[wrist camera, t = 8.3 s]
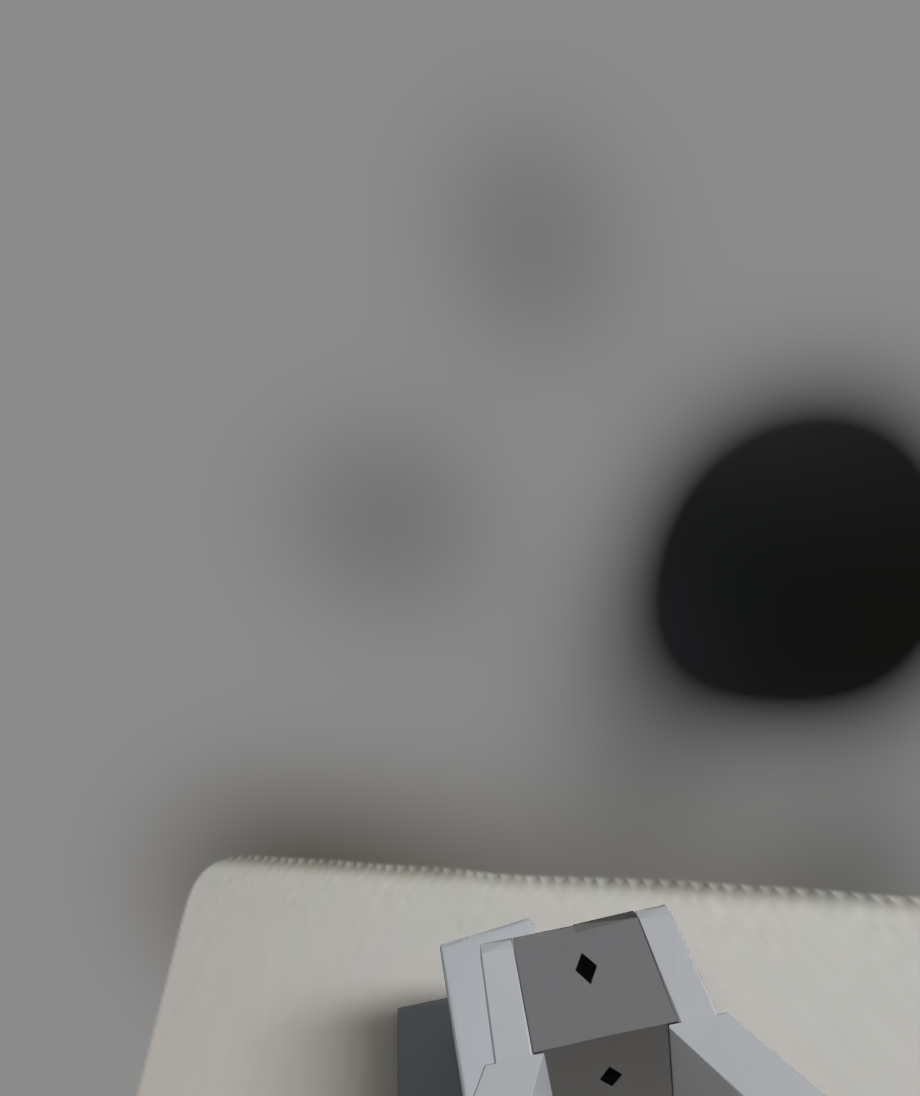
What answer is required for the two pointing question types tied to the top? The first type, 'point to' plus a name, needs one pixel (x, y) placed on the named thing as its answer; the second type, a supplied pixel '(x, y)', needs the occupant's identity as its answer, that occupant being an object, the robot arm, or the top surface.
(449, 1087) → the slate mat
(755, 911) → the top surface
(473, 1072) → the skincare box
